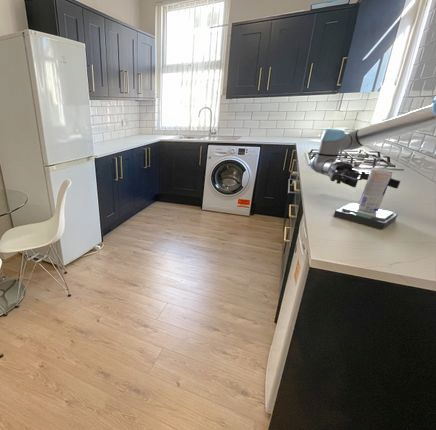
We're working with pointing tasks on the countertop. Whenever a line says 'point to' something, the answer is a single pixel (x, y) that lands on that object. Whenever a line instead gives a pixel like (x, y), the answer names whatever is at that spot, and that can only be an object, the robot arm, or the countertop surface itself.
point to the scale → (366, 216)
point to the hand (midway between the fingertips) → (376, 184)
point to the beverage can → (375, 189)
